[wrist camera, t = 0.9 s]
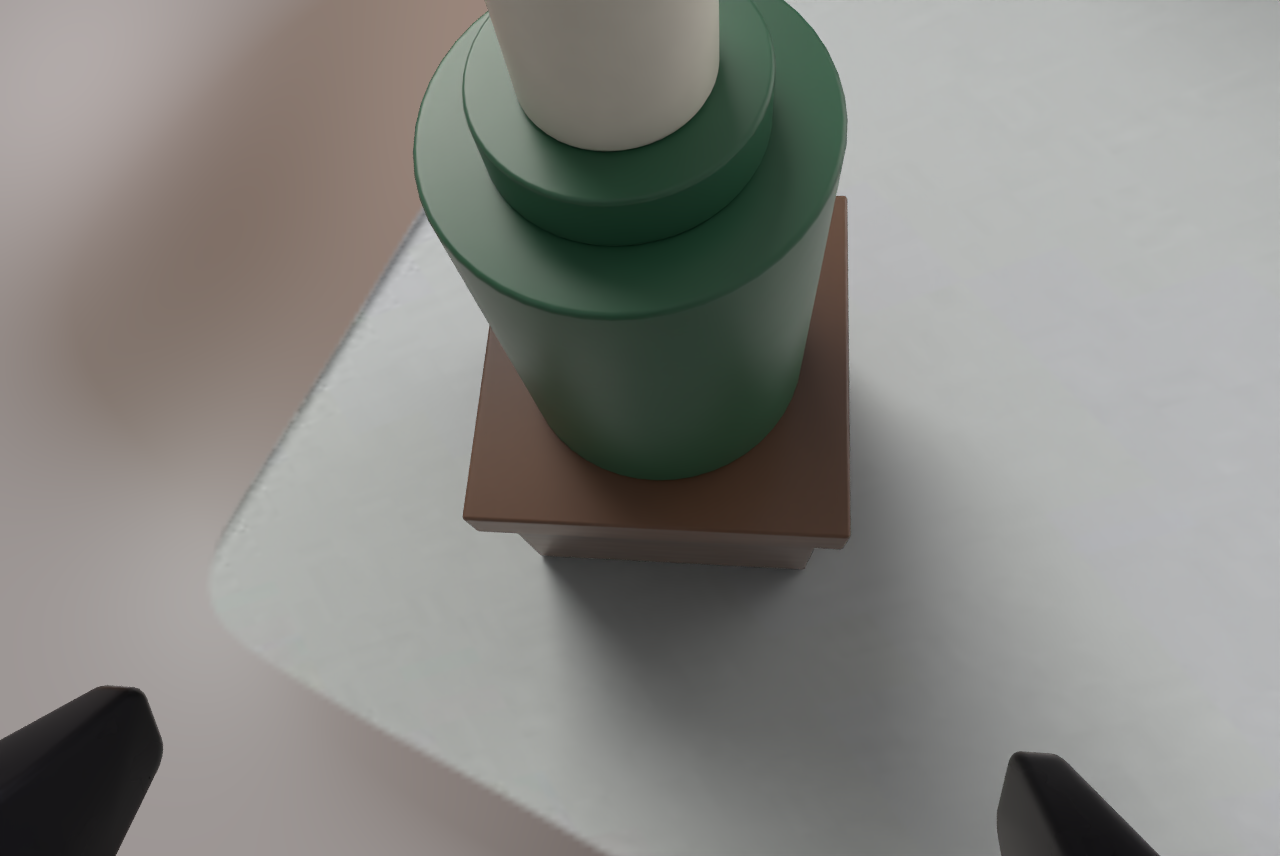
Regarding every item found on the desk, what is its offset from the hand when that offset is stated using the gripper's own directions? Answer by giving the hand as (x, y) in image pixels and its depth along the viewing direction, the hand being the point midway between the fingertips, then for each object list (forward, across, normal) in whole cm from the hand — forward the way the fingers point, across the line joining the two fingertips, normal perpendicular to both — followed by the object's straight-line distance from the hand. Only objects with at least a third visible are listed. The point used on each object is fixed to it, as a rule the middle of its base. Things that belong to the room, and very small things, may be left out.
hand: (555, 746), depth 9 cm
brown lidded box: (+15, 0, +4) cm, 16 cm away
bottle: (+11, 0, 0) cm, 11 cm away
